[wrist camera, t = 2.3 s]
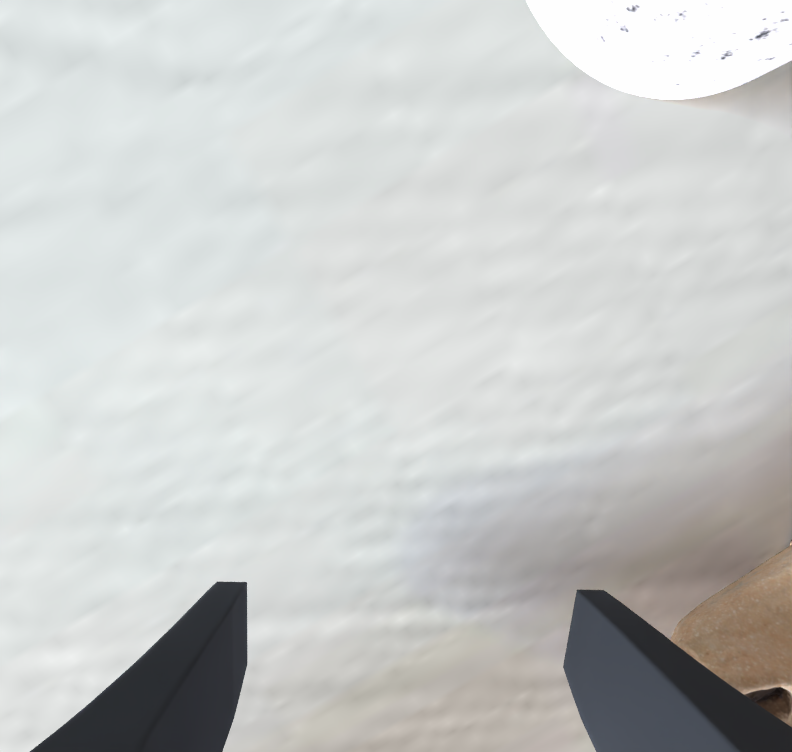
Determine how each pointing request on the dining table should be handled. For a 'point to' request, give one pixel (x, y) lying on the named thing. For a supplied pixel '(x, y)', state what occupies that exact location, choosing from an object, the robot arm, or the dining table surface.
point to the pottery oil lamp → (748, 635)
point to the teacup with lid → (670, 42)
